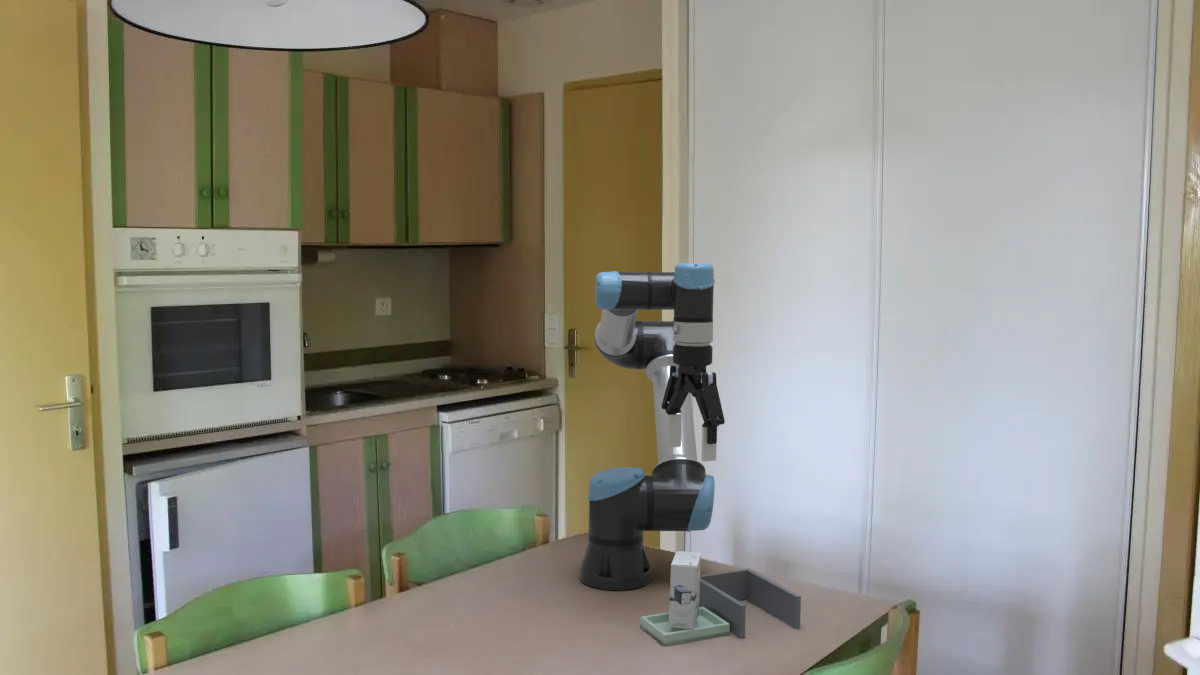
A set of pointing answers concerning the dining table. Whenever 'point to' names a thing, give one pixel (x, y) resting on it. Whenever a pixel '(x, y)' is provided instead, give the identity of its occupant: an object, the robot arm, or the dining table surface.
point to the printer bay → (747, 598)
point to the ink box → (684, 589)
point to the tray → (704, 629)
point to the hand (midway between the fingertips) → (690, 453)
